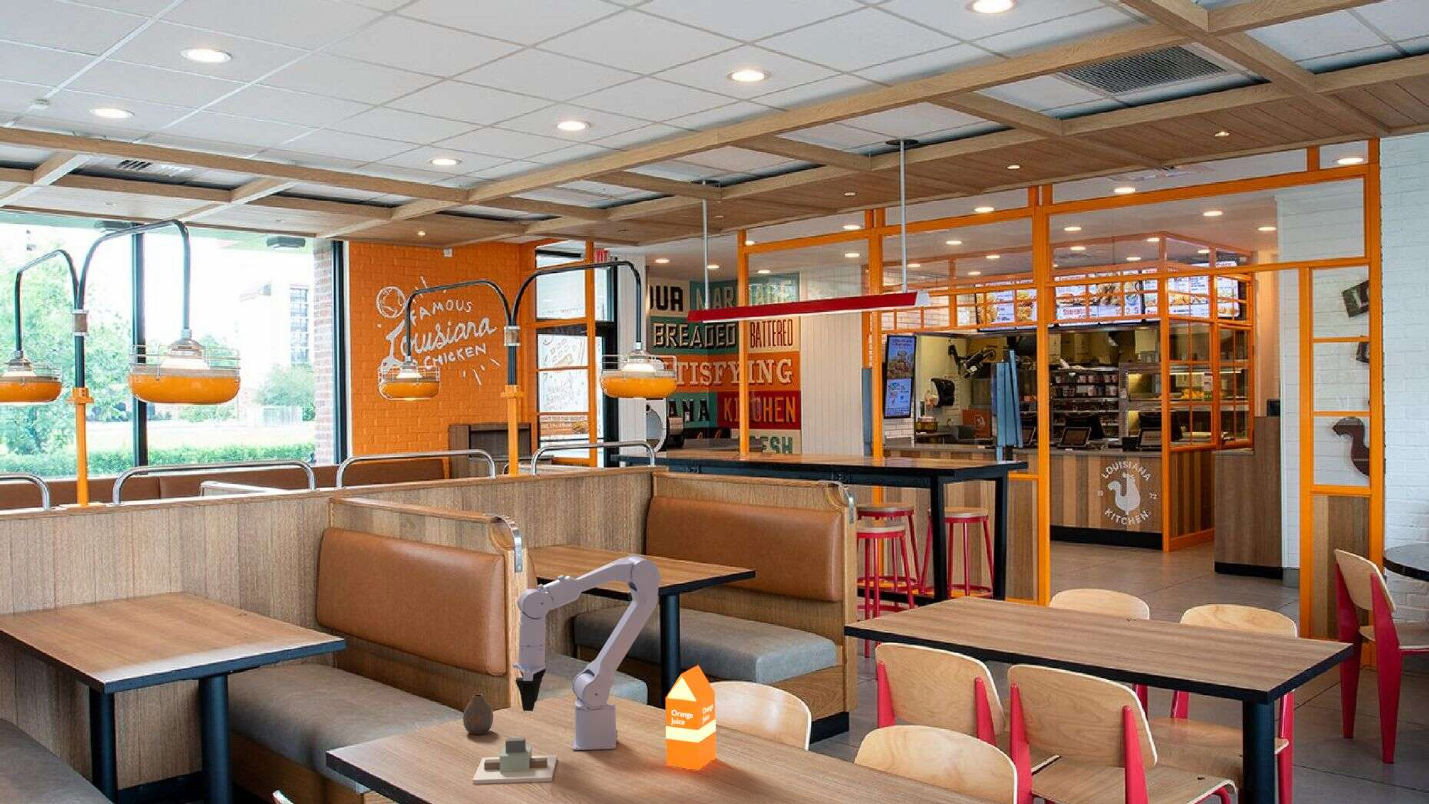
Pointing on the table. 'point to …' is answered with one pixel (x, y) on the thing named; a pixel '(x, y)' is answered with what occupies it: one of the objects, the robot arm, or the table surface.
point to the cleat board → (538, 772)
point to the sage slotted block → (515, 756)
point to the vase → (478, 715)
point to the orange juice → (690, 721)
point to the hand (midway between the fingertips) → (530, 705)
